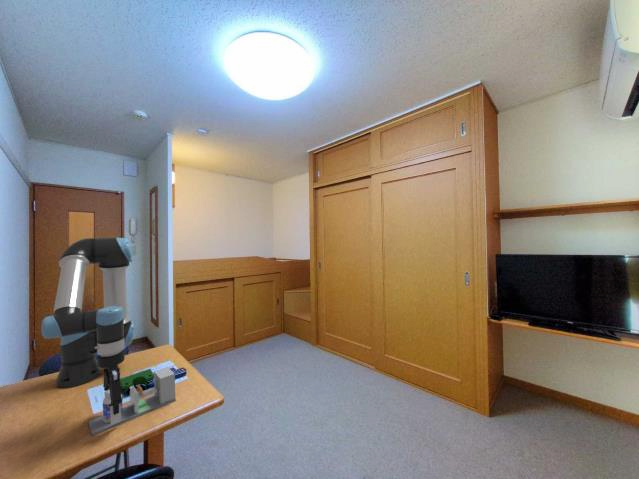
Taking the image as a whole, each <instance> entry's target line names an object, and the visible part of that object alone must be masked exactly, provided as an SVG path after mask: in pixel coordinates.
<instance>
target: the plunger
mask: <svg viewBox="0 0 639 479" xmlns="http://www.w3.org/2000/svg"><path fill="white" fill-rule="evenodd" d="M157 392H159V386H156V387H151V388H148V389H145V390H143V388H142V386H140V385H137V388H135V387H134V385H133V386H130V391H129V405H130V406H131V408H132V409H133V411H134V413H137V412H139V403H138V401H139V400H142V399H143V398H144V399H145V398H147V397H148V396H149V397H150V396H152V395H155V393H157Z"/></svg>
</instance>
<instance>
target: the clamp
mask: <svg viewBox="0 0 639 479" xmlns="http://www.w3.org/2000/svg"><path fill="white" fill-rule="evenodd" d="M153 380H154V371H153V370H152V369H151V368H148V369H145V370H142V371H139V372H137V373H132V374H131V375H127V376H124V377H120V385H121V393H126V392H127V391H126V390H127V389H130V386H133V385H134V386H136V385H139V384H145V385H147V386H148V383H147V382H148V381H150V382H152V381H153ZM125 391H126V392H125Z"/></svg>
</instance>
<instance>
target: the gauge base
mask: <svg viewBox="0 0 639 479" xmlns="http://www.w3.org/2000/svg"><path fill="white" fill-rule="evenodd" d="M153 374H154V378H153V380H154V381H153V382H154V384H153V385H154V387H156V386H159V392H157V393H154V394H153V395H150V396H149V397H148V396H147V397H145V398H144V399H143V398H142V399H139V400H138V403H139V412H137V413H134V411H133V409H132V408H131V406H130V404H129V405H126V406H124V407H123V406H122V411H123V413H122V416H121V421H119V422H117V423H115V424H112V425H111V422H109V423H106V422H104V421H103V414H102V415H99V416H97V417H95V418H93V419H89V420H88V425H89V429H90V432H91V436H92V437H94V436H96V435H98V434H101V433H103V432H105V431H108V430H110V429H113V428H115V427H117V426H120V425H122V424H124V423H126V422H129V421H131V420H133V419H136V418H138V417H141V416H143V415H145V414H148V413H150V412H152V411H155V410H157V409H159V408H162V407H164V406H166V405H169V404H171V403H174V402H176V400H177V399H176V377H175V376H176V374H175V372H174V371H172V369H170V368H169V367H168V366H167V367H165V368H162V369H158V370H156V371H153Z"/></svg>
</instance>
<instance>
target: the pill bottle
mask: <svg viewBox="0 0 639 479" xmlns="http://www.w3.org/2000/svg"><path fill="white" fill-rule="evenodd" d="M121 397H122V398H123V394H122V393H121ZM110 404H111V399H110V390H107V391H104V398H103V400H102V415H103V421H104V422H106V423H109V422H111V419H110V407H108V405H110ZM122 408H123V402H122V403H121V416H122V413H123V411H122Z"/></svg>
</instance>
